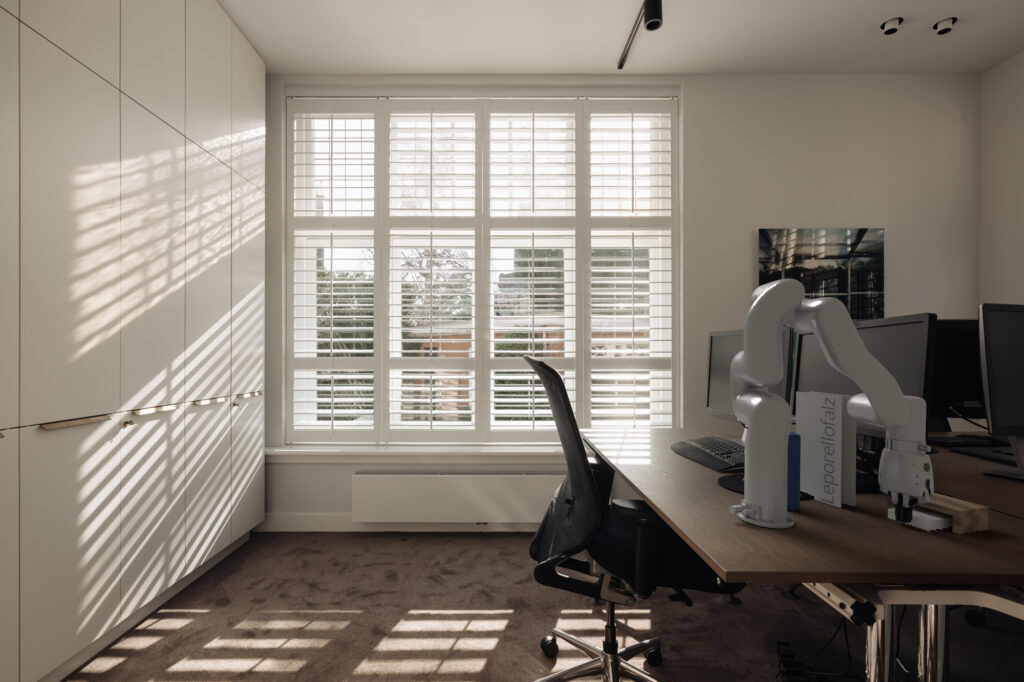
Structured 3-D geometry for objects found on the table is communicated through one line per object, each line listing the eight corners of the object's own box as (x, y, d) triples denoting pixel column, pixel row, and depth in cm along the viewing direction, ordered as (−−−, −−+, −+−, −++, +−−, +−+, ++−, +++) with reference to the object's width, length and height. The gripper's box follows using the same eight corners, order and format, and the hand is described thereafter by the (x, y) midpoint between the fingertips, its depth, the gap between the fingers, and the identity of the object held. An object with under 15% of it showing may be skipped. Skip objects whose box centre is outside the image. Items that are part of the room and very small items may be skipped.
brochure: (794, 492, 144) (796, 391, 145) (808, 491, 146) (810, 391, 146) (840, 508, 131) (841, 396, 131) (855, 506, 133) (856, 396, 133)
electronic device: (802, 509, 129) (803, 434, 129) (784, 510, 128) (785, 434, 128) (777, 498, 138) (777, 428, 139) (760, 499, 138) (761, 428, 138)
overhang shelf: (960, 534, 113) (960, 511, 113) (887, 511, 128) (887, 491, 128) (988, 529, 117) (988, 506, 117) (914, 508, 132) (914, 487, 132)
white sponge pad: (927, 531, 115) (927, 521, 115) (887, 518, 124) (887, 508, 124) (966, 525, 120) (966, 515, 120) (924, 512, 128) (924, 503, 128)
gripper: (951, 452, 113) (949, 531, 113) (883, 439, 127) (882, 510, 127) (929, 454, 111) (927, 534, 110) (863, 441, 125) (861, 512, 125)
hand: (903, 521), depth 119 cm, fingers closed
